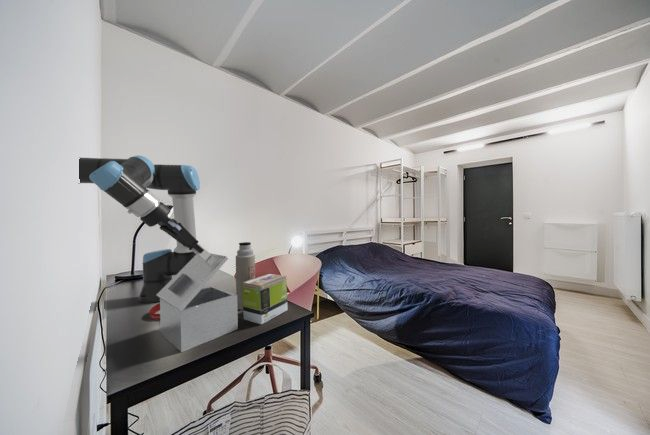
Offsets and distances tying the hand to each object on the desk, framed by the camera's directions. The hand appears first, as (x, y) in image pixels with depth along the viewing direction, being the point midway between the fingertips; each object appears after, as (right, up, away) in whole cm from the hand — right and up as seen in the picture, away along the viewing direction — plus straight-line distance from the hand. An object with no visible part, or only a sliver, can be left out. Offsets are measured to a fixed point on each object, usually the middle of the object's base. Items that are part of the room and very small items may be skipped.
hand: (207, 257), depth 85 cm
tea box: (+18, -25, +11) cm, 33 cm away
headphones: (-21, -26, +17) cm, 37 cm away
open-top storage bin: (-2, -25, -2) cm, 25 cm away
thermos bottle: (+7, -25, +21) cm, 33 cm away
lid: (-3, -6, -4) cm, 8 cm away
